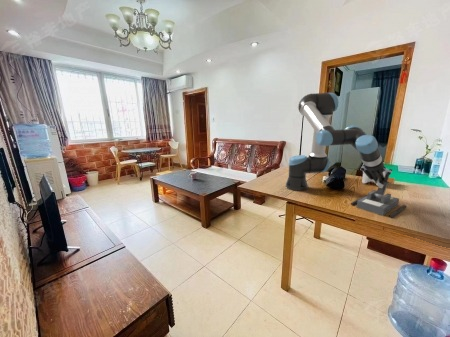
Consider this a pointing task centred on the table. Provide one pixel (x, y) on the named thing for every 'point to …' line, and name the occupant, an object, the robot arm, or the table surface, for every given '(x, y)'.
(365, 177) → the cable organizer
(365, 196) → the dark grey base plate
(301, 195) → the table surface
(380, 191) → the lever
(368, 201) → the breaker block
